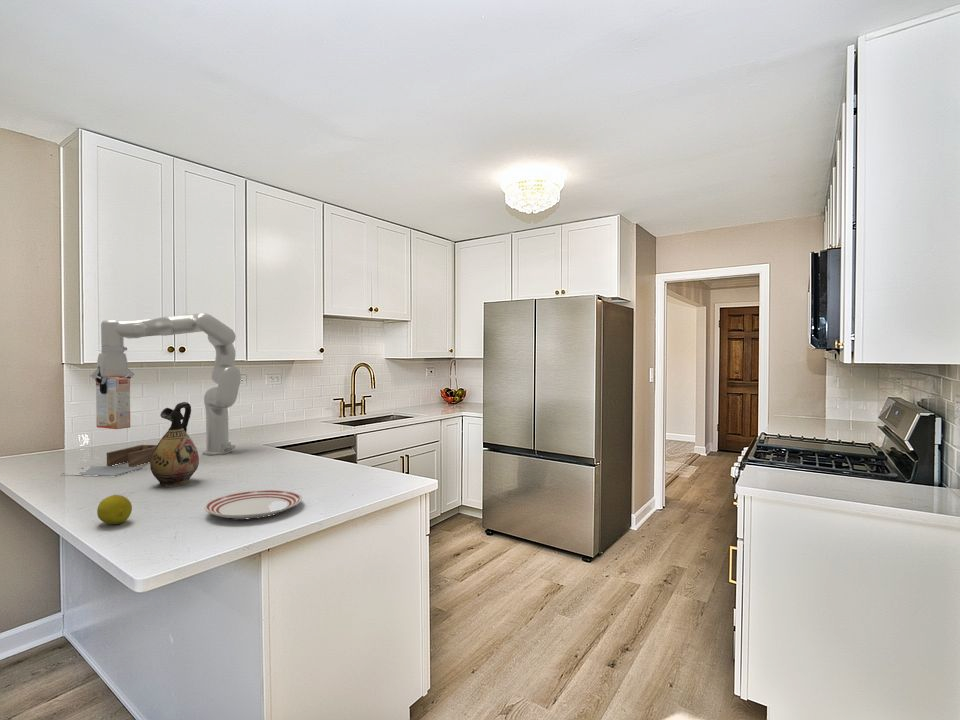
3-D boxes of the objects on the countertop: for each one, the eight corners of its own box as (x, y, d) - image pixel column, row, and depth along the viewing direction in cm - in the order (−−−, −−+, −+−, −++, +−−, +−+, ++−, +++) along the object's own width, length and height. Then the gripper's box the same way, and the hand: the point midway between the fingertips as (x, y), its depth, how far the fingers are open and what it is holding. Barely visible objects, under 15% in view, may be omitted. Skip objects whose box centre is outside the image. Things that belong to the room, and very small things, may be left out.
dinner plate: (273, 492, 174) (273, 483, 174) (319, 508, 157) (319, 498, 157) (188, 512, 153) (188, 502, 153) (230, 533, 136) (230, 521, 136)
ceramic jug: (177, 490, 177) (175, 405, 176) (140, 488, 180) (138, 404, 179) (212, 478, 194) (210, 400, 193) (177, 476, 197) (176, 400, 196)
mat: (142, 468, 210) (142, 467, 210) (114, 477, 196) (114, 475, 196) (91, 467, 213) (91, 465, 213) (60, 475, 199) (59, 473, 199)
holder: (164, 458, 230) (164, 445, 230) (131, 467, 211) (130, 453, 211) (142, 457, 232) (141, 444, 231) (106, 466, 213) (106, 452, 213)
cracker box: (131, 427, 210) (130, 377, 209) (116, 429, 204) (115, 378, 204) (111, 425, 215) (110, 376, 215) (95, 427, 210) (94, 377, 210)
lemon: (136, 524, 143) (135, 496, 142) (102, 531, 137) (101, 502, 137) (126, 515, 150) (126, 489, 150) (94, 522, 144) (93, 494, 144)
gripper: (131, 350, 219) (131, 391, 219) (83, 350, 204) (84, 394, 204) (139, 350, 215) (140, 392, 215) (92, 350, 200) (92, 395, 200)
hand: (113, 392), depth 209 cm, fingers closed on cracker box, 6 cm apart
